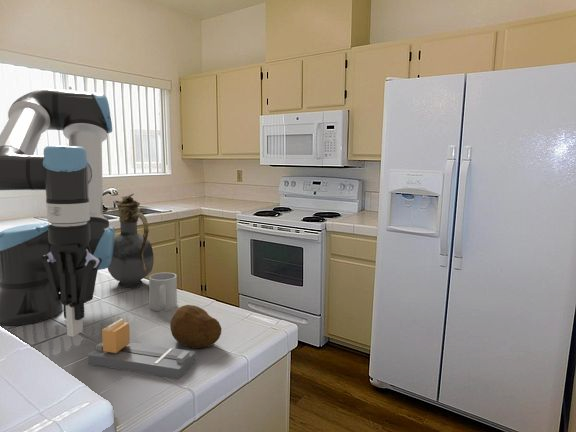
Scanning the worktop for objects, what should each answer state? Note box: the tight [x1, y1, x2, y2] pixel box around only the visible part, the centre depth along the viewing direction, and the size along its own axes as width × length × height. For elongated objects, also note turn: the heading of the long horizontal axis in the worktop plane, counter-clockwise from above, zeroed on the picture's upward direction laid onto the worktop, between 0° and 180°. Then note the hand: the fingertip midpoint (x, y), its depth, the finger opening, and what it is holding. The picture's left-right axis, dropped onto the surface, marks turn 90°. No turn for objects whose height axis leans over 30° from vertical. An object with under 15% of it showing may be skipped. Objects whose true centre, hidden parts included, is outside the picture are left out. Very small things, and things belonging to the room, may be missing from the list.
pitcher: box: [107, 193, 155, 289], centre depth 122 cm, size 11×19×30 cm, turn 49°
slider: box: [101, 318, 131, 353], centre depth 79 cm, size 3×4×5 cm
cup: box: [148, 272, 178, 312], centre depth 106 cm, size 7×10×9 cm
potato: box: [169, 304, 222, 349], centre depth 86 cm, size 8×12×9 cm
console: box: [87, 341, 197, 380], centre depth 78 cm, size 20×7×3 cm, turn 77°
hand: (75, 333), depth 81 cm, fingers closed
